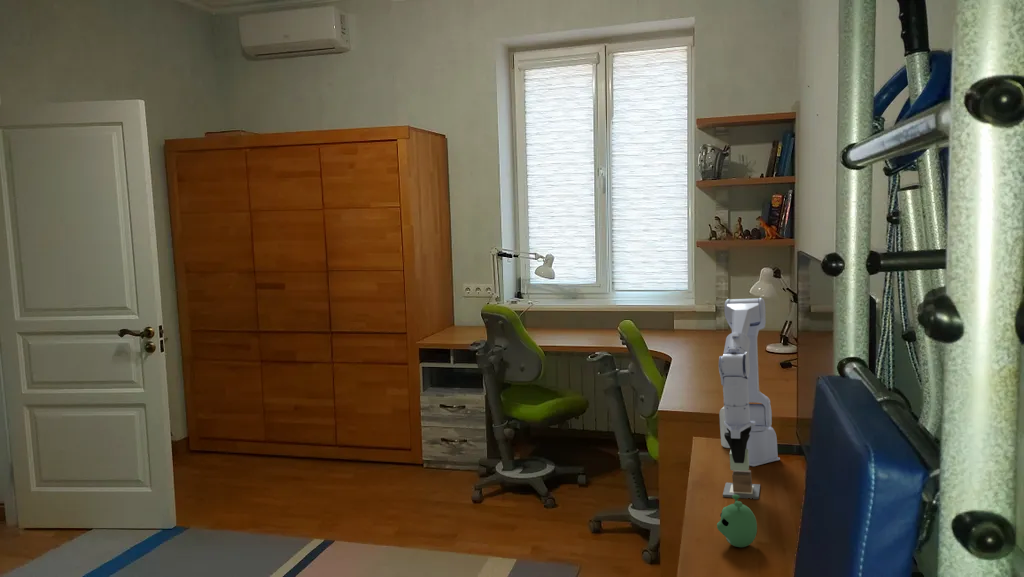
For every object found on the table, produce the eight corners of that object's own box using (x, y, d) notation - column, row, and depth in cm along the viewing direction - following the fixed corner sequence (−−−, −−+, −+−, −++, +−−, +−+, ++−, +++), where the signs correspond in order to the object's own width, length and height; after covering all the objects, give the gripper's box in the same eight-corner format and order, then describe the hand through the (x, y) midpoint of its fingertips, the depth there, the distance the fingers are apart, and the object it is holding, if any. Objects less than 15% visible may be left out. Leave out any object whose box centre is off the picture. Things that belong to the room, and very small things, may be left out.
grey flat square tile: (726, 484, 172) (725, 482, 172) (760, 486, 169) (760, 483, 169) (722, 496, 165) (722, 494, 165) (758, 499, 162) (758, 496, 162)
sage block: (731, 464, 169) (730, 448, 169) (749, 465, 168) (748, 449, 168) (730, 470, 166) (729, 453, 165) (748, 470, 164) (747, 454, 164)
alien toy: (716, 538, 144) (713, 490, 143) (755, 538, 142) (752, 490, 142) (720, 553, 137) (716, 504, 136) (761, 553, 136) (758, 504, 135)
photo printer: (741, 438, 208) (739, 397, 207) (754, 441, 204) (751, 399, 203) (718, 446, 202) (716, 404, 201) (730, 449, 199) (728, 407, 198)
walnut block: (734, 485, 170) (733, 469, 169) (752, 486, 168) (751, 470, 168) (733, 491, 166) (732, 475, 166) (750, 492, 164) (750, 476, 164)
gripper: (752, 411, 157) (755, 470, 158) (755, 396, 171) (759, 450, 172) (719, 411, 160) (723, 468, 161) (725, 396, 173) (729, 449, 174)
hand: (739, 459), depth 167 cm, fingers closed on sage block, 4 cm apart
